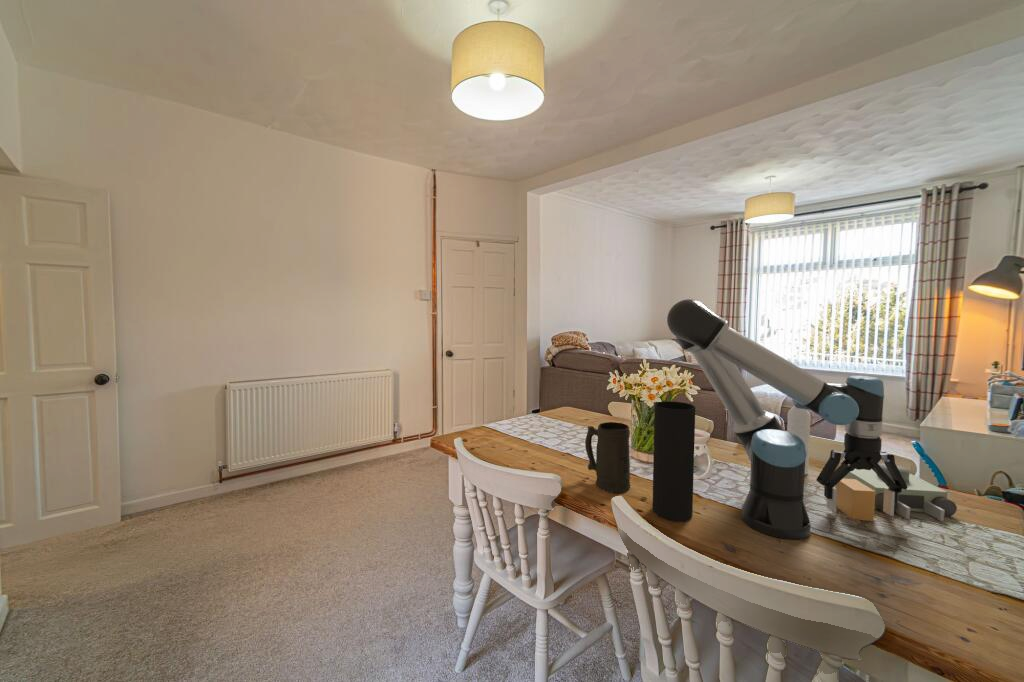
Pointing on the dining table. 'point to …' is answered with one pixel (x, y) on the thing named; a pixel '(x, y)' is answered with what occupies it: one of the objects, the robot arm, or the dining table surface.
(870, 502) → the orange block
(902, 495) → the mower deck
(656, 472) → the vase
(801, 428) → the water bottle
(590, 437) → the beer stein
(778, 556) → the dining table surface
